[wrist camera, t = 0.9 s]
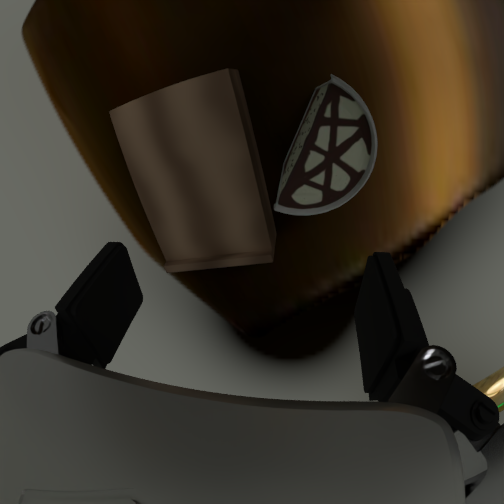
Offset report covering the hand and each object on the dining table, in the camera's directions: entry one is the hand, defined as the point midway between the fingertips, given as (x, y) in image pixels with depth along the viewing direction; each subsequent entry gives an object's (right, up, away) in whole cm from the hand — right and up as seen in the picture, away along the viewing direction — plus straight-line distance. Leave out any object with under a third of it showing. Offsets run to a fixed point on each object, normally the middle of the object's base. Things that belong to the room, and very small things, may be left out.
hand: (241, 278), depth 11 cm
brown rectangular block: (-5, +11, +21) cm, 24 cm away
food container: (+8, +13, +18) cm, 23 cm away
